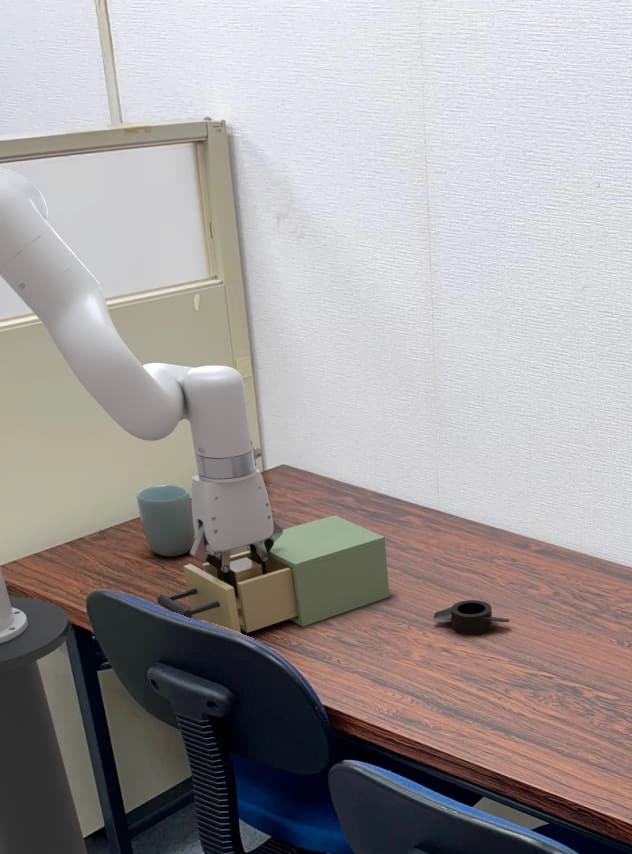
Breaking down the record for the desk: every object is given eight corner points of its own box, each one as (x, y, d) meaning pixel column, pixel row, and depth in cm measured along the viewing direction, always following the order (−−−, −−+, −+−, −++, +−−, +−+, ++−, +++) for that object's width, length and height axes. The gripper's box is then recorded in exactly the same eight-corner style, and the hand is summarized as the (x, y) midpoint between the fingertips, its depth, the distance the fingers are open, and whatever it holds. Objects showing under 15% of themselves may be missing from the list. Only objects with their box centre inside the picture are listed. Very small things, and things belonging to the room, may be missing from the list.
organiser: (302, 626, 171) (294, 564, 166) (254, 600, 179) (245, 539, 174) (389, 596, 181) (384, 536, 176) (341, 573, 188) (334, 514, 183)
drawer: (197, 654, 161) (187, 601, 157) (155, 628, 168) (145, 576, 164) (322, 612, 174) (316, 561, 170) (278, 589, 180) (272, 540, 176)
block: (240, 599, 167) (236, 572, 165) (225, 590, 170) (220, 564, 167) (264, 591, 170) (261, 565, 167) (249, 583, 172) (245, 557, 170)
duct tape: (467, 609, 178) (466, 590, 176) (515, 628, 172) (514, 610, 171) (429, 624, 173) (427, 606, 171) (477, 645, 167) (476, 626, 166)
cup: (171, 564, 190) (159, 504, 184) (137, 554, 193) (125, 494, 188) (208, 550, 195) (198, 490, 190) (175, 540, 199) (164, 481, 193)
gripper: (264, 445, 167) (280, 567, 177) (154, 470, 157) (177, 598, 167) (295, 457, 163) (309, 582, 172) (183, 484, 152) (205, 615, 162)
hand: (244, 589), depth 169 cm, fingers closed on block, 4 cm apart
